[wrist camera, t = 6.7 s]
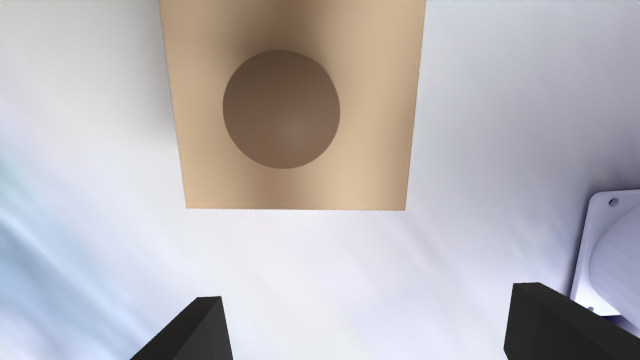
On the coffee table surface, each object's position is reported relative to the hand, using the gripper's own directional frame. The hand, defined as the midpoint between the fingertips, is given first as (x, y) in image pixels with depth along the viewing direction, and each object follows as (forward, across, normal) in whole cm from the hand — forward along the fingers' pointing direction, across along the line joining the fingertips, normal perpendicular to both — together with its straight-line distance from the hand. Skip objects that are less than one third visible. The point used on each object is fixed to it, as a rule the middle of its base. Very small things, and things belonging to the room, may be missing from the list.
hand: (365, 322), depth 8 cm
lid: (+7, +2, -5) cm, 9 cm away
